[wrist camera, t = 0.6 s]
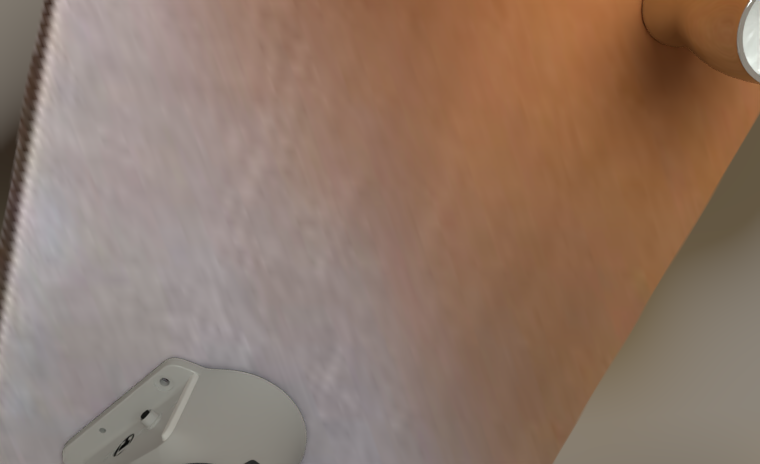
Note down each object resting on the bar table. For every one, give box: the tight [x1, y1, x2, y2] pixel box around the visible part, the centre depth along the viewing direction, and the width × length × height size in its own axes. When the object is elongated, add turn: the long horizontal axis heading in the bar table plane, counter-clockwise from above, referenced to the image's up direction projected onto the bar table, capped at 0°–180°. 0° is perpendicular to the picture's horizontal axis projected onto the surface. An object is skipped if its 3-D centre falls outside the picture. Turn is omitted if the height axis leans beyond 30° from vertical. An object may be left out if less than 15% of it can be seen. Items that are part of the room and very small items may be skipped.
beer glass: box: [642, 0, 760, 84], centre depth 45 cm, size 7×7×15 cm
